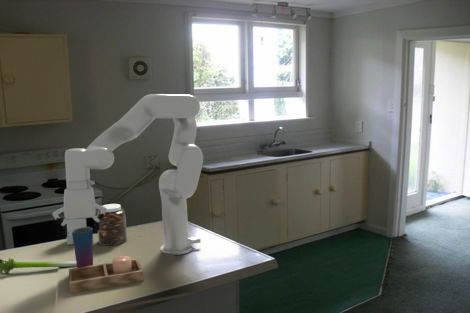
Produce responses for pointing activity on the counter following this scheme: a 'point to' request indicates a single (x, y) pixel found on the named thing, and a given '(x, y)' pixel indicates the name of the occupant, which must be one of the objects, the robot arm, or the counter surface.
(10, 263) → the leek
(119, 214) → the jar
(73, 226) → the skincare box
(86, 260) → the cup
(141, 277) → the caddy
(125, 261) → the peach capsule shape
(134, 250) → the counter surface
